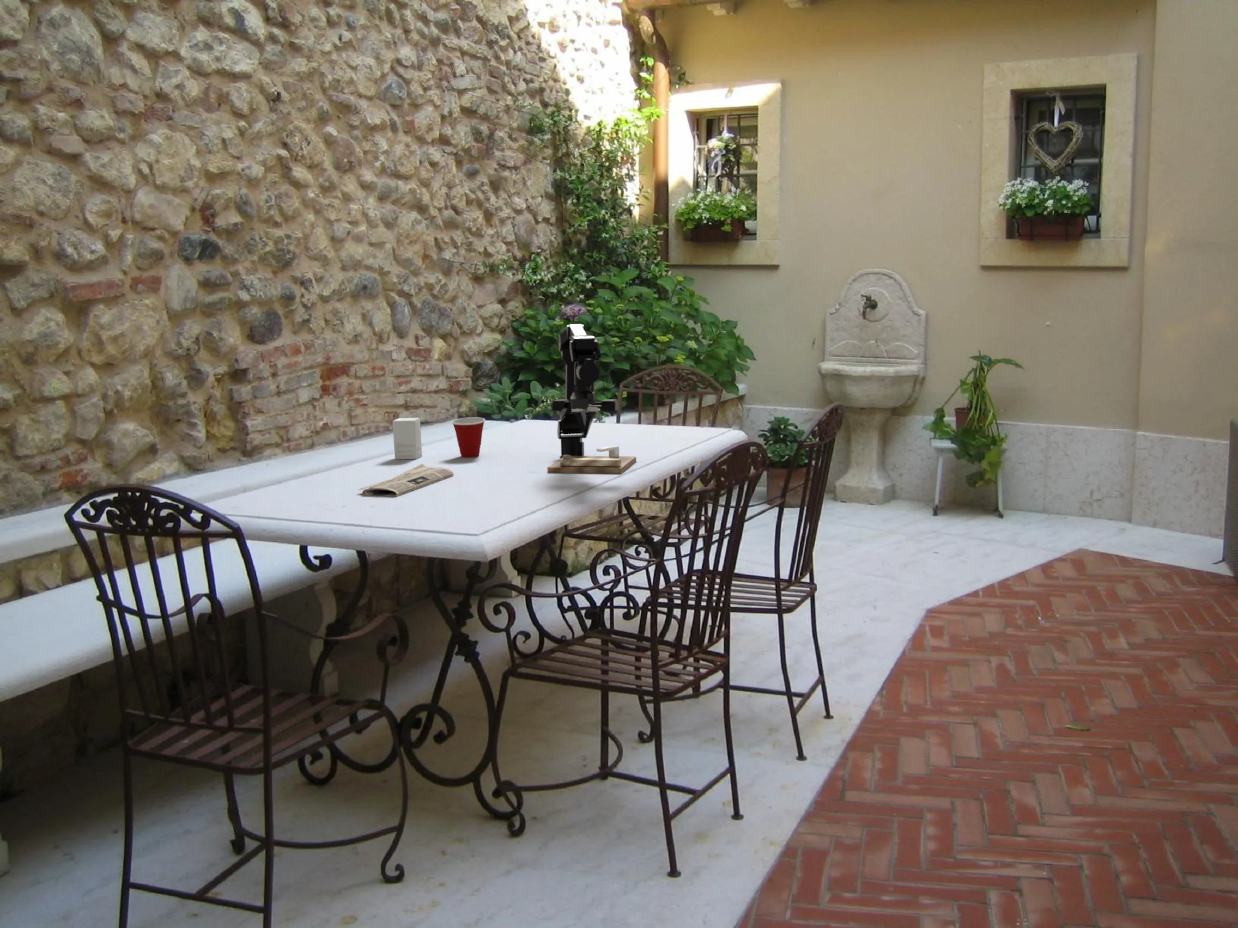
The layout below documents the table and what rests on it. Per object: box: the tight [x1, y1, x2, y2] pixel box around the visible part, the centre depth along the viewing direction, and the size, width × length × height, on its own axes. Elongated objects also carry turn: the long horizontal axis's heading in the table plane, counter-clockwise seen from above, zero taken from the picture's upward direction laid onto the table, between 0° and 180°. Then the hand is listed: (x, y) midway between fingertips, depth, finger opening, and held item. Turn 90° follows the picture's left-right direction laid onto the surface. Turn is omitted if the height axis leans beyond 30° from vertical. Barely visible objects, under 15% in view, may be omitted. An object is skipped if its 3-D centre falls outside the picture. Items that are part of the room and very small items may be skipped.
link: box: [559, 455, 621, 466], centre depth 345 cm, size 18×4×3 cm, turn 78°
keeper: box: [596, 445, 620, 458], centre depth 359 cm, size 8×2×3 cm, turn 136°
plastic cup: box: [451, 416, 486, 458], centre depth 379 cm, size 11×11×12 cm
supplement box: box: [392, 417, 423, 460], centre depth 378 cm, size 7×7×13 cm
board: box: [547, 455, 637, 474], centre depth 354 cm, size 22×23×2 cm
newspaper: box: [357, 463, 455, 498], centre depth 329 cm, size 35×12×4 cm, turn 162°
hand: (585, 435), depth 338 cm, fingers closed
